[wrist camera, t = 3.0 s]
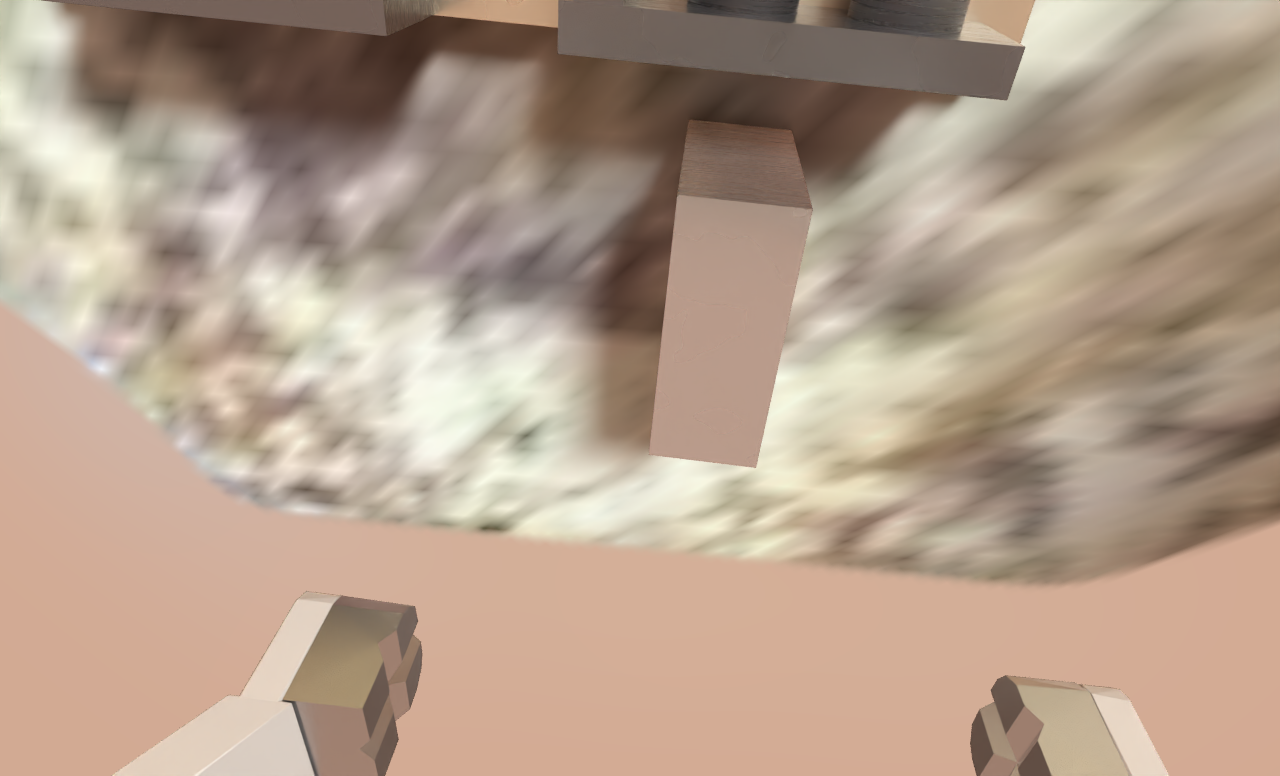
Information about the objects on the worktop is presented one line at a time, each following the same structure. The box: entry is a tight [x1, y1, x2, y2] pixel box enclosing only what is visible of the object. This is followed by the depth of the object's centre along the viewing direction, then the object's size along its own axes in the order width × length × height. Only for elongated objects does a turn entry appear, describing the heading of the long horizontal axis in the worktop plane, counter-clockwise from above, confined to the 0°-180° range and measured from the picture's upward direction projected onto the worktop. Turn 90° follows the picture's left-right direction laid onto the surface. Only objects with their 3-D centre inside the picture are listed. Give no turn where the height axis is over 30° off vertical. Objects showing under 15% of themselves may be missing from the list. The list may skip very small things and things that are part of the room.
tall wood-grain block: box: [649, 119, 813, 468], centre depth 20 cm, size 3×7×6 cm, turn 176°
